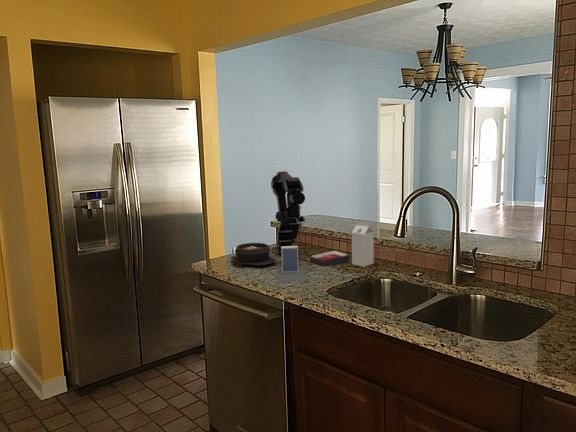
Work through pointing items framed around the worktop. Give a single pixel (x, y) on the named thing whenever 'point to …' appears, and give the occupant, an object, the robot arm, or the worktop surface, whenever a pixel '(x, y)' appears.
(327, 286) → the worktop surface
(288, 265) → the box
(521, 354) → the worktop surface
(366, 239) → the milk carton
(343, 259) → the calculator
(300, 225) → the robot arm
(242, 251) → the casserole
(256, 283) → the worktop surface
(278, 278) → the mat
